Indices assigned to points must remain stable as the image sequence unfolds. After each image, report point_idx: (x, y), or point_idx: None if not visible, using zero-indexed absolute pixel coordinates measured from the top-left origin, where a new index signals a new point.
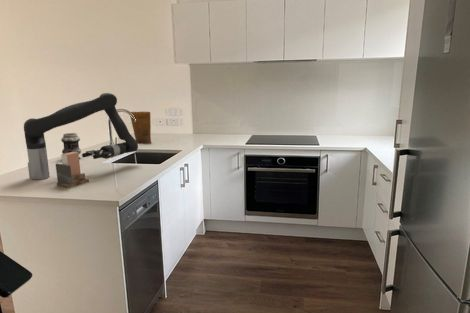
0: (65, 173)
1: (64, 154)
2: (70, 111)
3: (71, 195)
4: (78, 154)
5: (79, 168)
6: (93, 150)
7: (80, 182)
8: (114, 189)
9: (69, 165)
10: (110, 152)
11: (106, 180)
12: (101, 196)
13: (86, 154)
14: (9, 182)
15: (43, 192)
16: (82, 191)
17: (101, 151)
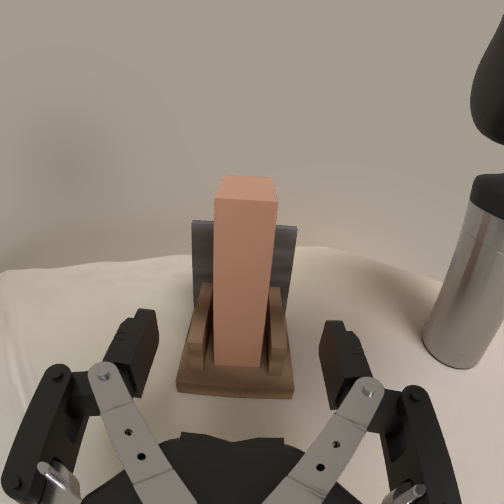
0: None
1: (248, 176)
2: None
3: (135, 271)
4: (214, 214)
5: (213, 307)
6: (428, 493)
7: (186, 340)
8: (15, 327)
9: (196, 222)
10: (5, 476)
11: (92, 432)
12: (42, 280)
13: (332, 367)
14: None
15: None
16: (120, 297)
17: (135, 446)
